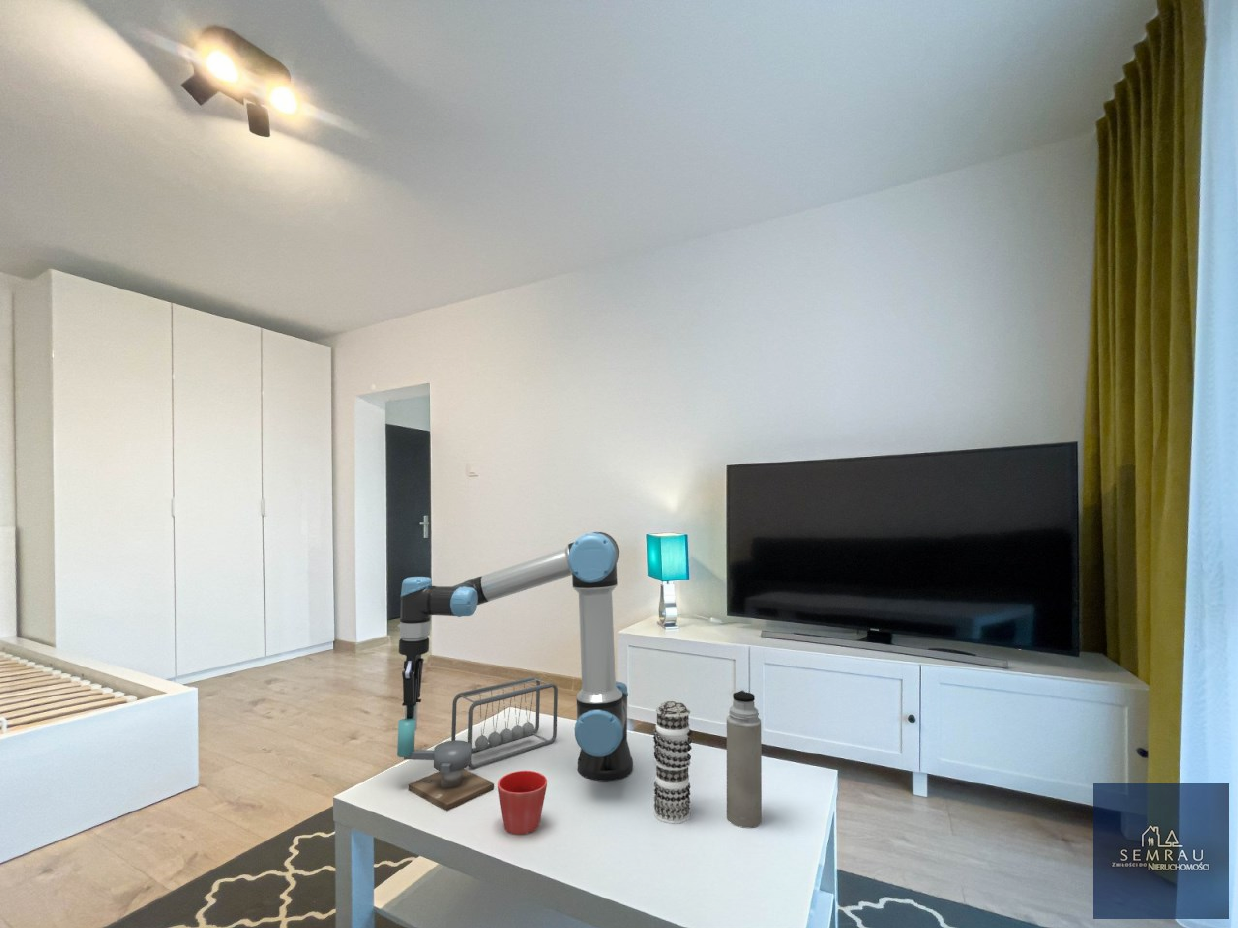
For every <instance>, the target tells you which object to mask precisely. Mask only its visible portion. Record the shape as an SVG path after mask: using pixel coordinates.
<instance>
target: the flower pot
mask: <svg viewBox="0 0 1238 928" xmlns="http://www.w3.org/2000/svg"><path fill="white" fill-rule="evenodd" d="M547 786H548V779H547V778H546V776H545V775H543V774H542V773H540V772H536V771H534V770H533V771H532V770H519V771H514V772H510V773H507V774H505V775H503V776H502V777H501V778H500V779H499V780H498V781H497V791H498V797H499V798H498V799H499V805H500V812H501V817H502V818H501V819H502V821H503V822H502V823H503V827H504V830H505V831H506V833H508V834H511V835H516V836H523V835H528V834H531V833H533V832H535V831H536V830H537V829H538V828H539V825H540V821H541V816H542V813H543V808H544V802H545V798H546V797H545V796H546V791H547Z"/></svg>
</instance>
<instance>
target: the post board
mask: <svg viewBox="0 0 1238 928" xmlns="http://www.w3.org/2000/svg"><path fill="white" fill-rule="evenodd" d="M494 790H495V782H492V781H490V780H488V779H486V778H484V777H482V776H479V775H478V774H475V773H473V772H471V771H469V770H466V768H464V769H462V770H459V771H454V772H449V773H441V771H438V772H435V773H433V774H430V775H428V776H425V777H422V778H421V779H418V780H414V781H413V782H410V783H408V791H409V792H411V793H412V794H415V795H417V796H418V797H420V798H422V799H424V800H425V801H427V802H429V803H430V804H433V805H435V806H437V807H438V808H439V809H441V810H443V811H445V812H448V811H451V810H453V809H456V808H457V807H459V806H462V805H464V804H466V803H468V802H470V801H472V800H475V799H477V798H479V797H481V796H483V795H485V794H487V793H489V792H492V791H494Z"/></svg>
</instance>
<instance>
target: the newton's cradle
mask: <svg viewBox="0 0 1238 928" xmlns="http://www.w3.org/2000/svg"><path fill="white" fill-rule="evenodd" d="M532 682H535V683H536V685H535V686H532V685H530V684H529V683H532ZM541 683H542V684H541ZM519 685H523V687H524V688H520V687H518V686H519ZM525 685H527V686H530V687H527V688H526V686H525ZM511 687H514V688H517V689H518V690H513V691H509V690H508V689H507V688H511ZM550 688H553V725H552V726H553V731H552V732H553V733H552V737H551V738H550V739H547V738H545V737H543V736H540V735H539V734H537V732H538V731H539V729H540V706H541V705H540V704H541V703H540V701H541V700H540V698H541V695H540V694H541V691H543V690H547V689H550ZM497 690H506V691H507V692H506V693H502V694H499V693H498V694H496V691H497ZM489 692H491V695H492V696H490V697H489V696H486V695H484V694H486V693H489ZM534 692H536V693H535V695H536V696H535V726H534V724H533V723H531V722H530V721H529V720H530V718H531V714H529V717H528V720H526V722H525V723H523V725H522V726H521V725H519V724H520V723H519V722H520V719H518V721H517V718H515V725H514V726H513V727H512V728H511V729H510V728H508V726H509V722H507V723H506V722H504V729H502V730H501V731H500V733H499V732H497V729H494V730H493V732H491V733H490V734H489V735H488V737H487V736H485V735H484V732H485V728H483V730H482V729H480V735H479V736H478V737H476V739H475V741H474V746H475V747H474V748H473V727H474V726H473V722H474V718H473V716H474V710H475V708H476V707H478V706H479V710H480V714H479V715H480V718H482V708H481V705H485V704H487V705H486V711H485V715H487V712H488V708H489V707H488V705H489V703H490V704H491V707H492V711H494V705H493V704H494V703H493V702H497V701H498V706H500V704H501V703H500V702H501V700H503V702H502V703H505V700H506V699H510V701H509V705H511V703H512V698H514V700H516V697H518V696H523V695H524V697H525V699H524V700H525V702H527V696H526V695H527V694H531V693H532V694H531V698H533V695H534ZM493 693H495V694H496V695H494V696H493ZM558 694H559V689H558V686H557V684H556V683H554V682H553V683H552V682H551V683H548V682H546V681H542V680H540V678H539V677H537V676H530V677H526V678H522V679H518V680H514V681H513V680H512V681H509V682H505V683H500V684H496V685H492V686H487V687H486V686H485V687H482V688H478V689H473V690H469V691H465V692H460V693H458V694H456V695H455V696H454V697H453V699H452V708H451V709H452V710H451V732H450V733H451V736H450V737H451V738H450V739H451V740H450V741H454V740H456V735H457V734H456V731H457V730H456V729H457V703H458V702H457V701H458V700H459V699H460V698H464V699H465V700H468V701H469V702H472V704H470V706H469V709H468V722H467V723H468V724H467V726H468V727H467V742H469V743H470V744H471V759H472V756H473V755H472V754H475V753H479V752H481V751H485V750H487V749H491V748H494V747H497V746H501V745H504V744H508V743H510V742H513V741H516V740H520V739H524V738H527V737H530V736H533V735H535V736H536V737H538V738H540V739H542V740H544V741H541V742H539V743H536V744H533V745H530V746H527V747H523V748H520V749H518V750H515V751H511V752H508V753H504V754H502V755H499V756H496V757H492V758H489V759H485V760H483V761H479V762H477V763H472V761H471V763H470V765H469V766H468V767H467V768H470V769H471V770H475V769H478V768H481V767H484V766H487V765H490V764H493V763H496V762H499V761H503V760H506V759H510V758H511V757H515V756H519V755H520V754H525V753H528V752H530V751H532V750H536V749H540V748H542V747H546V746H548V745H552V744H553V743H554V742H555V741H556V739H557V736H558V699H559V697H558V696H559V695H558ZM476 695H480V696H484V697H485V698H479V699H476V700H472V699H471V698H468V697H471V696H476ZM522 700H523V697H521V700H520V703H522ZM530 701H531V702H530V705H532V703H533V699H531V700H530ZM514 708H515V709H514V710H515V711H514V712H515V714H517V710H516V708H517V706H516V705H514ZM521 708H522V704H520V708H519V710H522V709H521ZM508 709H509V710H508V713H510V711H511V710H510V709H511V707H509V708H508ZM497 710H498V711H497V713H499V712H500V711H499V710H500V707H498V709H497ZM531 710H532V707H530V709H529V712H531ZM503 711H504V712H503V714H504V717H506V712H505V711H506V709H505V707H503ZM525 711H526V713H525V714H526V715H528V711H527V707H525ZM518 713H519V714H518V718H520V716H521V712H518ZM498 717H499V714H497V718H496V720H498ZM509 717H510V714H508V716H507V720H509ZM486 718H487V716H485V717H484V721H487V720H486ZM492 722H493V723H492V724H493V726H495V728H497V726H498V722H496V724H495V719H494V715H492ZM485 725H486V722H484V724H483V727H485Z"/></svg>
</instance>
